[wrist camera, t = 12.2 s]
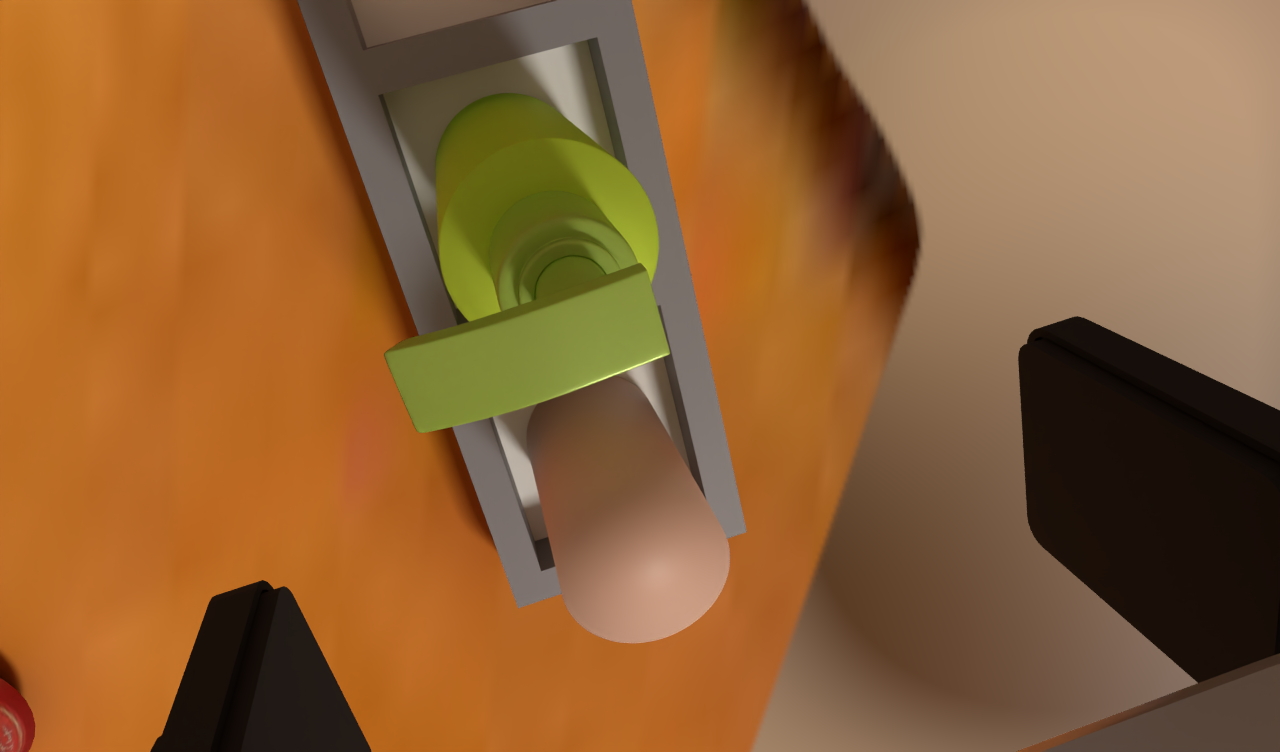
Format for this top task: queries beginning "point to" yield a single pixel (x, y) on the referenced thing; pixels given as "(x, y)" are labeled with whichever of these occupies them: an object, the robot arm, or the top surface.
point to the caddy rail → (407, 216)
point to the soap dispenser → (531, 267)
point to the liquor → (15, 720)
